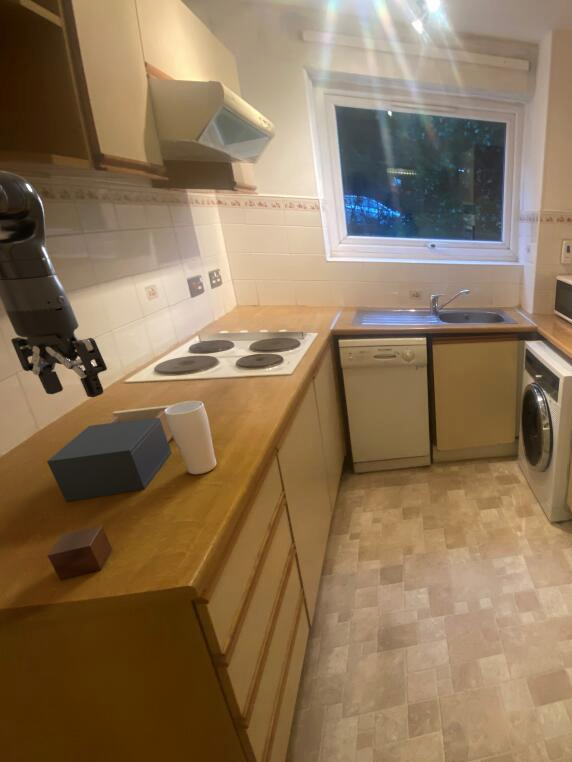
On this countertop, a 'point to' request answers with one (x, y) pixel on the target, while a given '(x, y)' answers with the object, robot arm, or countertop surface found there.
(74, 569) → the block
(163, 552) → the countertop surface
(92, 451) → the dark grey box
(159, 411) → the drawer
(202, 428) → the drinking glass
